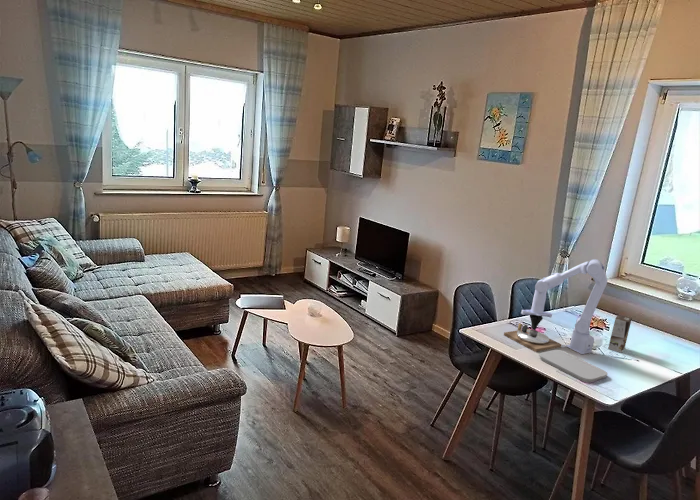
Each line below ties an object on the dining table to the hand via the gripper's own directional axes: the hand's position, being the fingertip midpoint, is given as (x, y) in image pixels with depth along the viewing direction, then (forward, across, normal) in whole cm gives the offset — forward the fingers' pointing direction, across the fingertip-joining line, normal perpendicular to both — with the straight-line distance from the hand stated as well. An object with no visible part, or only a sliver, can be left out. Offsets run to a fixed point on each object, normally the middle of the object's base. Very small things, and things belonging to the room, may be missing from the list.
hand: (533, 329), depth 253 cm
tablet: (+5, +7, -32) cm, 33 cm away
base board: (+4, -2, -6) cm, 7 cm away
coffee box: (+5, +41, -3) cm, 41 cm away
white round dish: (+2, -2, -6) cm, 7 cm away
